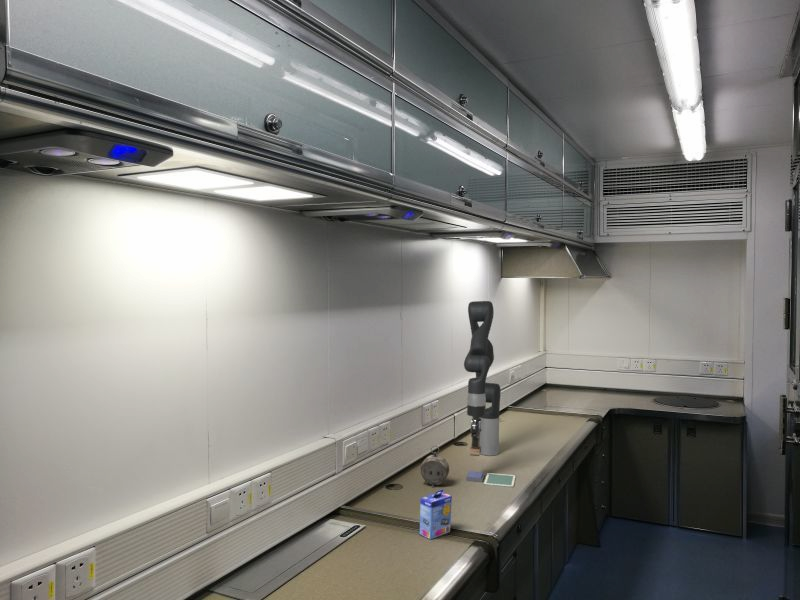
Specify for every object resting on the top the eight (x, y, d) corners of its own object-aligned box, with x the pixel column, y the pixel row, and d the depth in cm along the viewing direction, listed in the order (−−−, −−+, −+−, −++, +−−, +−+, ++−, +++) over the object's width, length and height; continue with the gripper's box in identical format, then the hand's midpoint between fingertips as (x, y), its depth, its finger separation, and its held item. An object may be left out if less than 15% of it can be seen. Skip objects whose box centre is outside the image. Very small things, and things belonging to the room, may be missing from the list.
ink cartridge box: (431, 540, 198) (431, 494, 198) (418, 535, 202) (419, 490, 202) (451, 532, 205) (452, 487, 205) (439, 527, 209) (439, 483, 209)
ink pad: (468, 474, 266) (468, 470, 266) (484, 475, 264) (484, 471, 264) (466, 480, 258) (466, 476, 258) (482, 482, 256) (482, 477, 256)
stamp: (471, 451, 264) (471, 427, 264) (481, 452, 263) (482, 427, 263) (469, 455, 258) (469, 430, 258) (479, 456, 257) (480, 431, 257)
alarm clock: (449, 485, 252) (449, 444, 251) (446, 489, 246) (447, 448, 246) (422, 482, 255) (422, 442, 254) (419, 486, 249) (419, 446, 249)
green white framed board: (487, 473, 267) (487, 472, 267) (515, 476, 264) (515, 475, 264) (483, 484, 253) (483, 483, 253) (513, 487, 250) (513, 486, 250)
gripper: (469, 400, 268) (468, 440, 268) (464, 406, 254) (464, 449, 255) (487, 401, 266) (486, 442, 267) (483, 407, 253) (482, 450, 253)
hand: (475, 445), depth 261 cm, fingers closed on stamp, 3 cm apart
